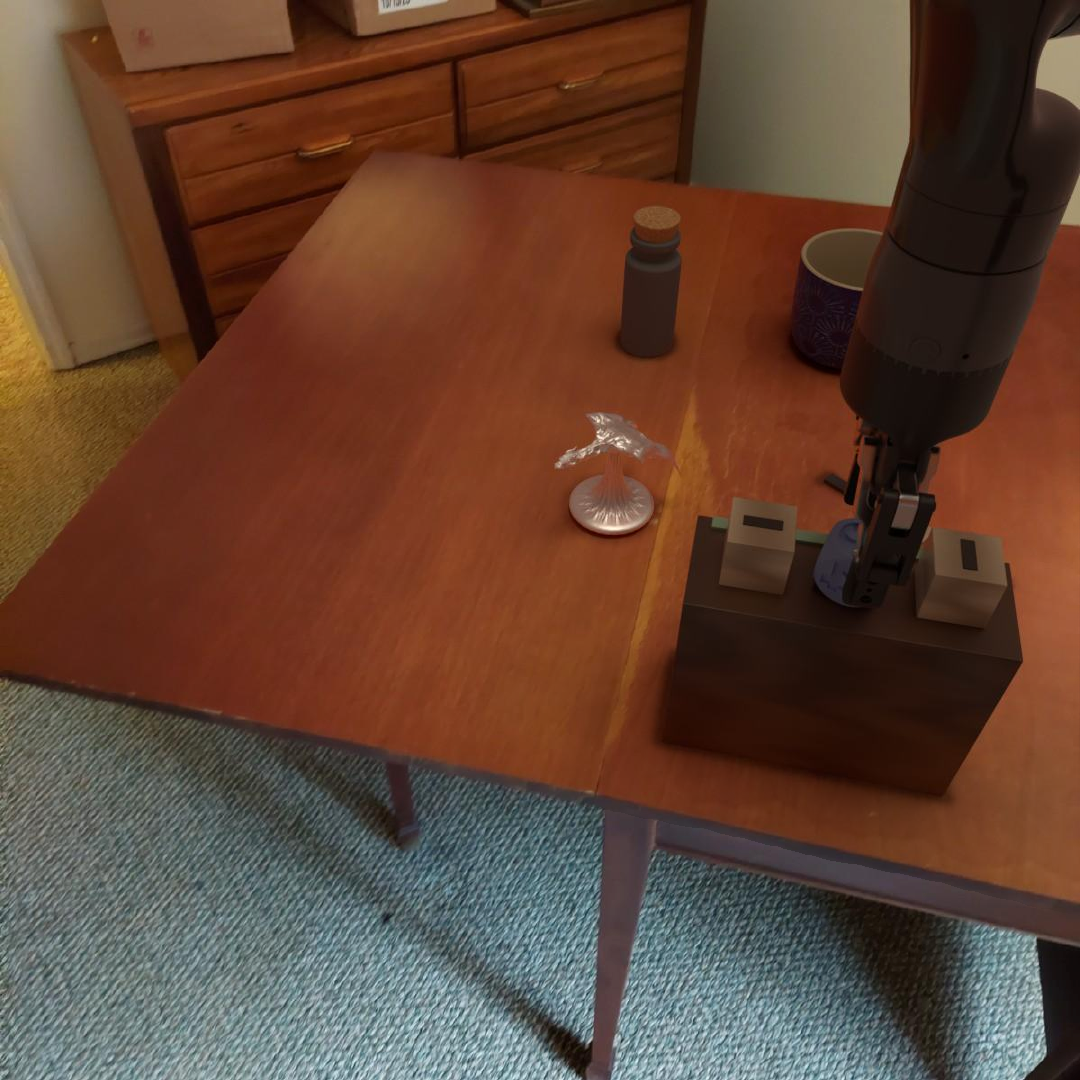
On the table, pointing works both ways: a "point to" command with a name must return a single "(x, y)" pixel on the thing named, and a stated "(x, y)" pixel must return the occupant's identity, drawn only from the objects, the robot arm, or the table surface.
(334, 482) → the table surface
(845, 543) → the decorative dice
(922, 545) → the beige cubes with bar
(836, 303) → the planter
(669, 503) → the table surface
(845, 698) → the dark brown block
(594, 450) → the figurine
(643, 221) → the bottle
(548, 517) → the table surface
